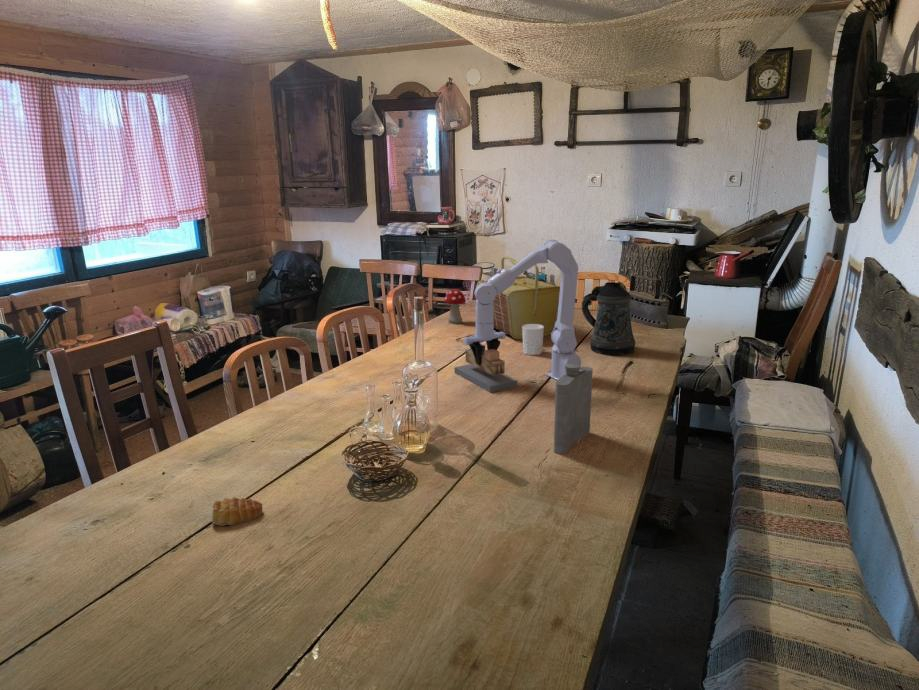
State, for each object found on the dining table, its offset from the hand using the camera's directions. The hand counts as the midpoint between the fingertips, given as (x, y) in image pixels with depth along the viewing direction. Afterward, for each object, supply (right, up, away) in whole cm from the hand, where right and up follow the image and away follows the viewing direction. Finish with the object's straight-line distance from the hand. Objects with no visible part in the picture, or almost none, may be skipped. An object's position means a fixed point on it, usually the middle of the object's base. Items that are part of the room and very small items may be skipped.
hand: (484, 363), depth 197 cm
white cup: (+19, +3, +30) cm, 35 cm away
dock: (0, -5, +2) cm, 6 cm away
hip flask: (+20, -18, -44) cm, 52 cm away
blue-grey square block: (-2, +3, +3) cm, 5 cm away
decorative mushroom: (-10, +16, +76) cm, 78 cm away
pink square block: (+2, +2, -4) cm, 5 cm away
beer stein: (+47, +4, +32) cm, 57 cm away
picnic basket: (+16, +12, +61) cm, 64 cm away
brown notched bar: (0, -1, 0) cm, 1 cm away
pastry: (-53, -29, -75) cm, 96 cm away
